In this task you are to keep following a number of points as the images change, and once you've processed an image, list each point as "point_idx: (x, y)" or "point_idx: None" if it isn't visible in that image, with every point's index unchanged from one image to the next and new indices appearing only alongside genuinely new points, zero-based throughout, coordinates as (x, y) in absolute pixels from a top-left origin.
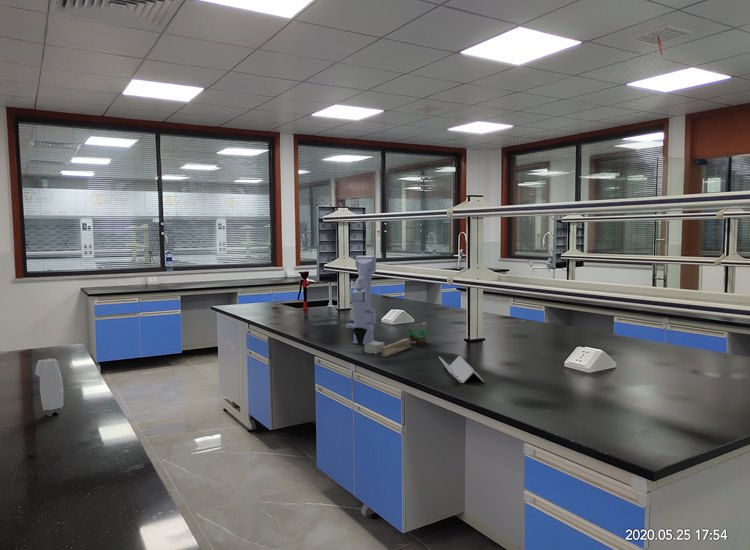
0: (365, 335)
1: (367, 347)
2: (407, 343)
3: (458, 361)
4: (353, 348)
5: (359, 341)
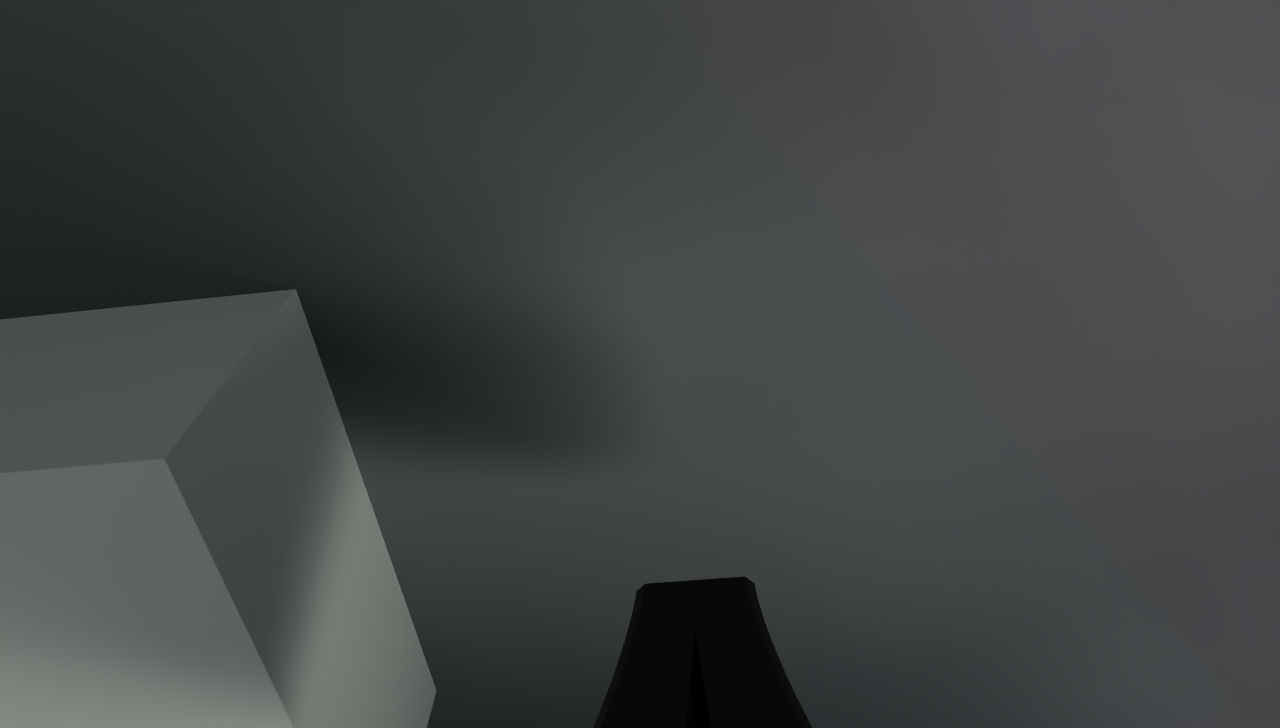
0: None
1: (80, 406)
2: None
3: None
4: (1012, 515)
5: (655, 656)
